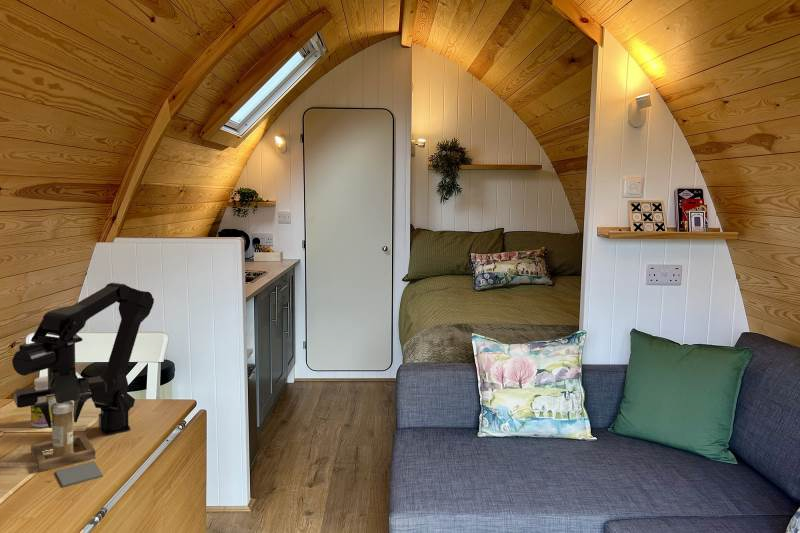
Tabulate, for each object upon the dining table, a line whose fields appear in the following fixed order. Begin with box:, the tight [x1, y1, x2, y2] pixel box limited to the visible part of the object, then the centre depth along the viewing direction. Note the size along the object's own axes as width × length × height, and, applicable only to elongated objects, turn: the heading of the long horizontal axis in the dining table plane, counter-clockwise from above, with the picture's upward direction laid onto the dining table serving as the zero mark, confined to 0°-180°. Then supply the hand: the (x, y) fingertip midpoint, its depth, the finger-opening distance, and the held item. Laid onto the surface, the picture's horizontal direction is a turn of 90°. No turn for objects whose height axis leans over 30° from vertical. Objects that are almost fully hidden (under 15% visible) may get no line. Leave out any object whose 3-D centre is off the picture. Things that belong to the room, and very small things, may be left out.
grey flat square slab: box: [55, 460, 104, 488], centre depth 126 cm, size 8×8×1 cm
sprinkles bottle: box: [51, 401, 75, 458], centre depth 133 cm, size 5×5×13 cm
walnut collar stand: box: [30, 433, 96, 473], centre depth 134 cm, size 12×12×2 cm
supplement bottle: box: [30, 375, 56, 428], centre depth 150 cm, size 7×7×13 cm
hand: (62, 424), depth 133 cm, fingers open, 5 cm apart
